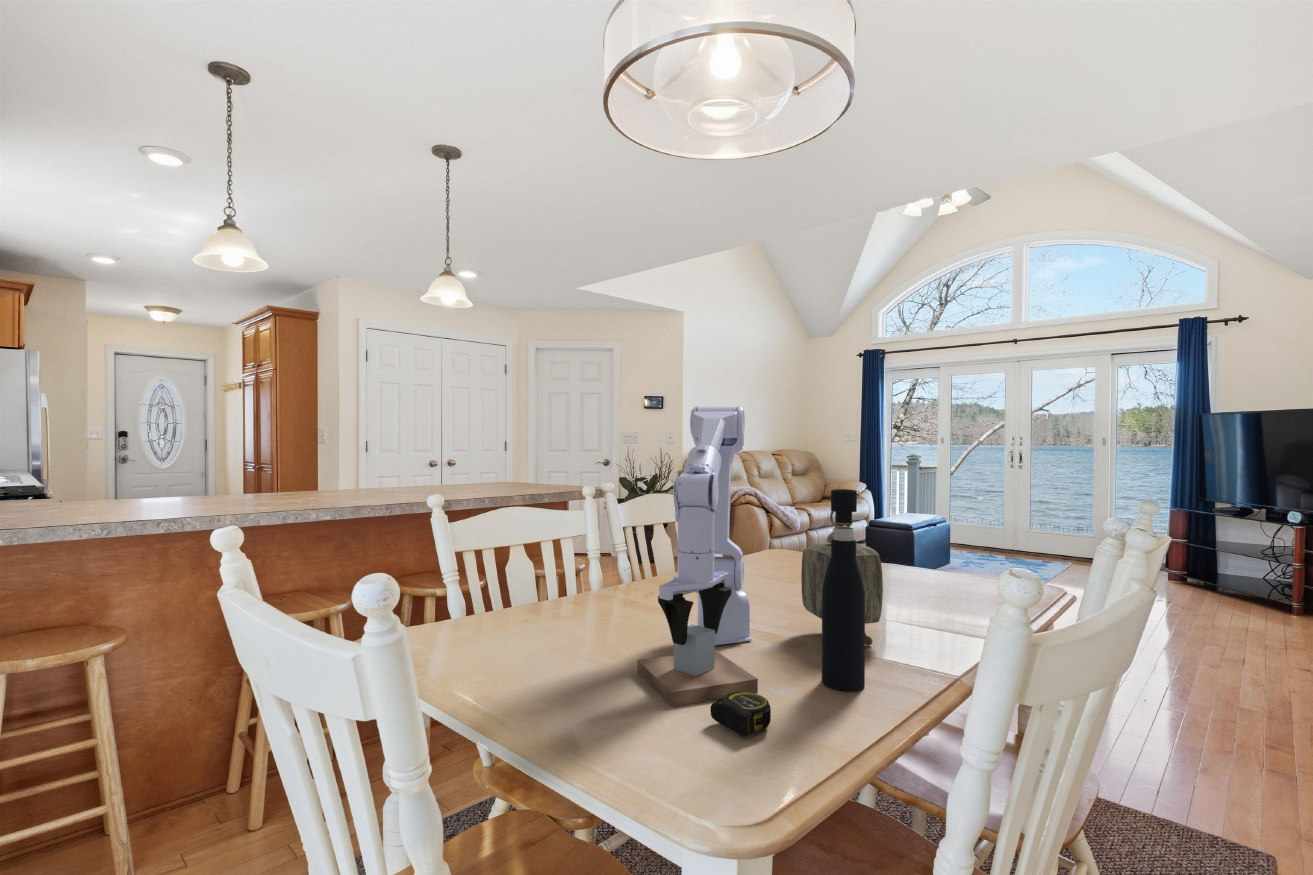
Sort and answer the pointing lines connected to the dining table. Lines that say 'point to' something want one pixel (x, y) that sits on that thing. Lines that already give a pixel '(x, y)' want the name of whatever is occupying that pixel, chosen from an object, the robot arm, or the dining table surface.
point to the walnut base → (695, 680)
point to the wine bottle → (843, 603)
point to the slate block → (696, 651)
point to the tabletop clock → (815, 570)
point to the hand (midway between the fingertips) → (695, 637)
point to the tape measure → (742, 712)
